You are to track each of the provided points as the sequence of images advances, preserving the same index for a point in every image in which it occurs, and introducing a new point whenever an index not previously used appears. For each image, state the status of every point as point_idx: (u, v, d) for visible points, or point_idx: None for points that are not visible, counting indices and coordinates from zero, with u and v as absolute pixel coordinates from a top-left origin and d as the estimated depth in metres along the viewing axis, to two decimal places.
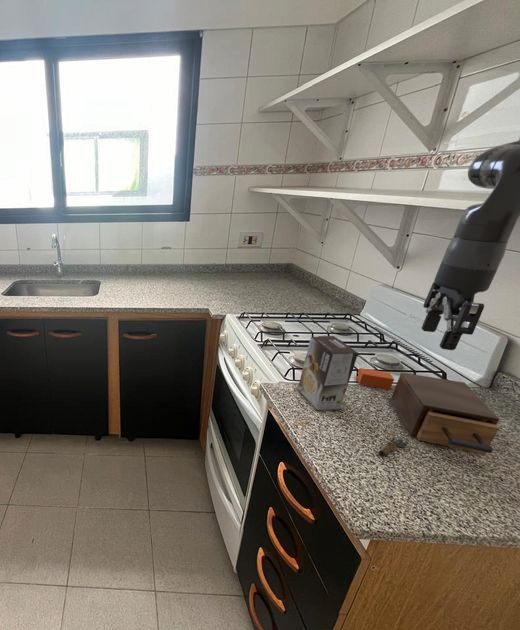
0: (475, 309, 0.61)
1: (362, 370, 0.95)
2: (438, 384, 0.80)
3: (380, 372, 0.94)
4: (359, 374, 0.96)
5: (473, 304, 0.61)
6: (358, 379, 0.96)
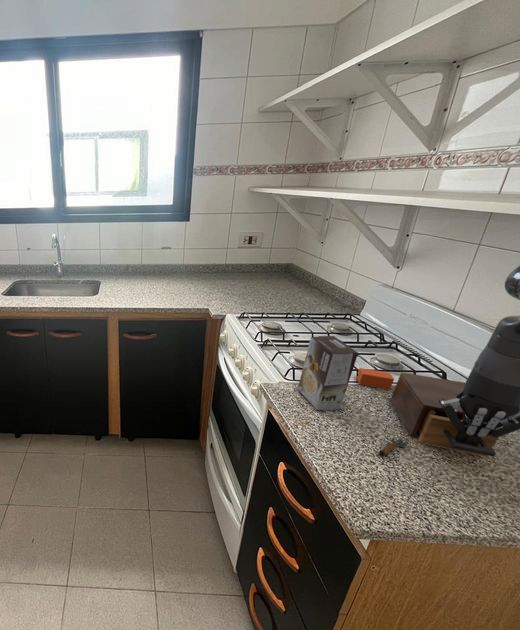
0: (443, 407, 0.67)
1: (362, 370, 0.95)
2: (438, 384, 0.80)
3: (380, 372, 0.94)
4: (359, 374, 0.96)
5: (441, 402, 0.68)
6: (358, 379, 0.96)
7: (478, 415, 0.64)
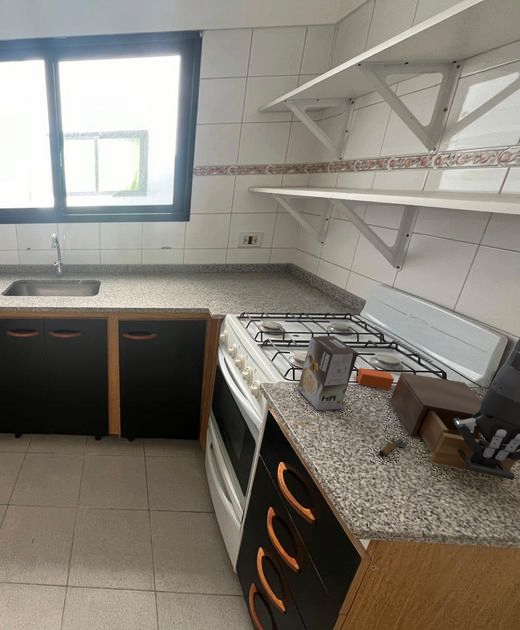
0: (457, 428, 0.63)
1: (362, 370, 0.95)
2: (438, 384, 0.80)
3: (380, 372, 0.94)
4: (359, 374, 0.96)
5: (455, 422, 0.63)
6: (358, 379, 0.96)
7: (496, 437, 0.59)
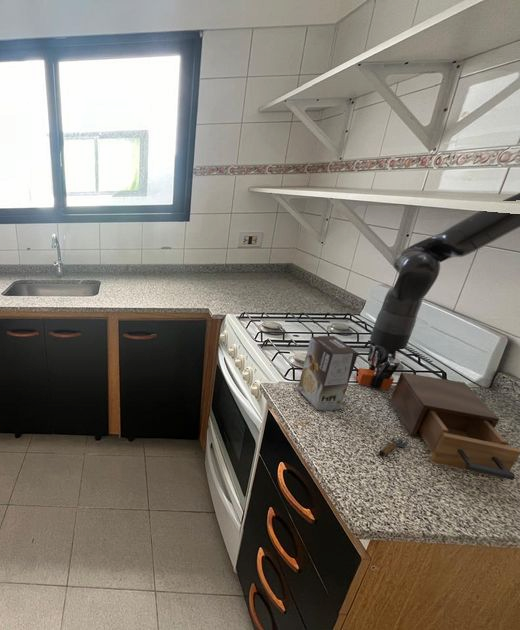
0: (391, 367, 0.86)
1: (362, 370, 0.95)
2: (438, 384, 0.80)
3: None
4: (359, 374, 0.96)
5: (390, 364, 0.86)
6: (358, 379, 0.96)
7: None
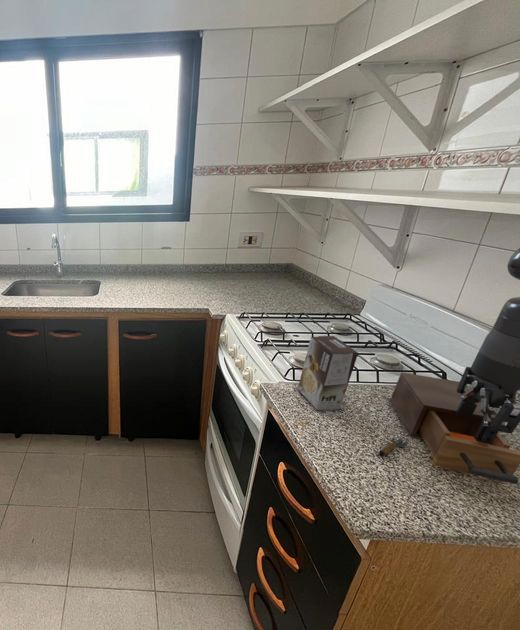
0: (517, 412, 0.58)
1: None
2: (438, 384, 0.80)
3: (472, 438, 0.69)
4: None
5: (515, 407, 0.58)
6: None
7: None
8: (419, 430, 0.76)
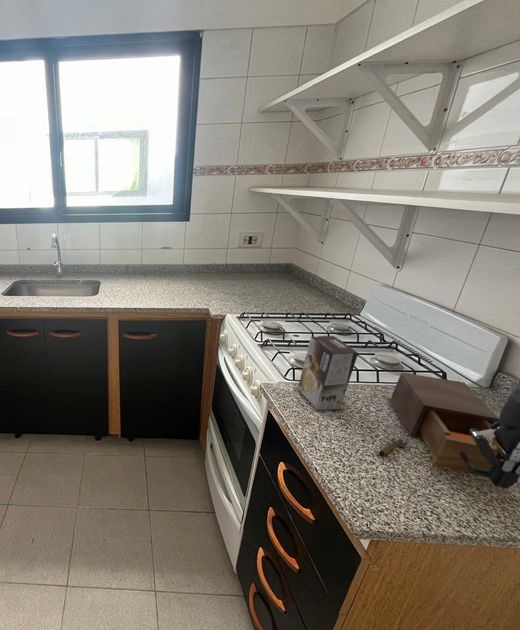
0: (474, 439, 0.58)
1: None
2: (438, 384, 0.80)
3: (472, 438, 0.69)
4: None
5: (472, 433, 0.59)
6: None
7: (517, 450, 0.55)
8: (419, 430, 0.76)
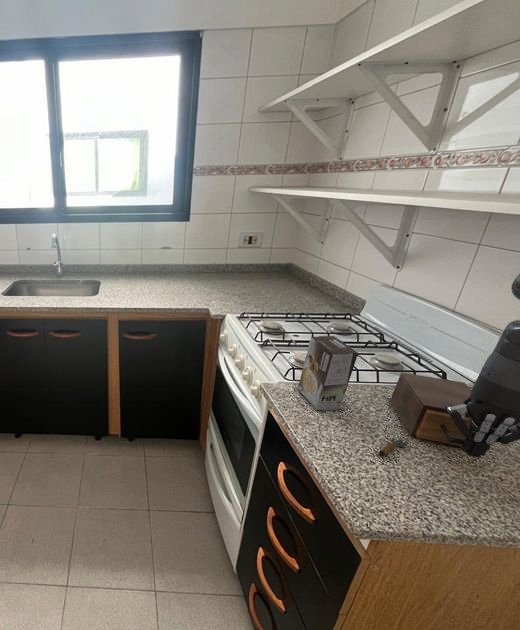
0: (449, 413, 0.66)
1: None
2: (438, 384, 0.80)
3: None
4: None
5: (447, 408, 0.66)
6: None
7: (486, 421, 0.63)
8: None
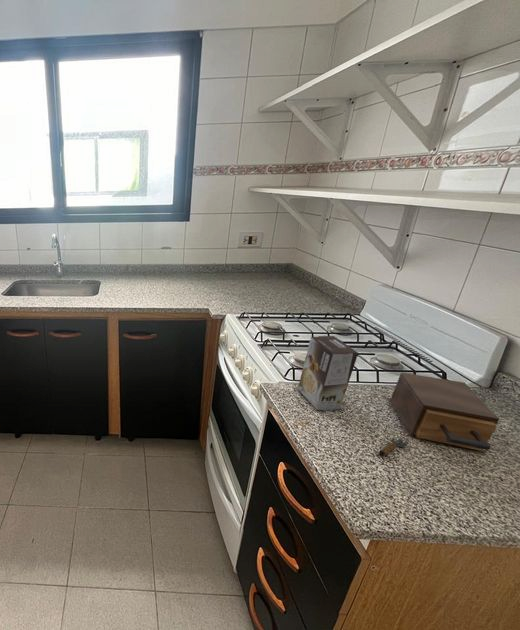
0: None
1: None
2: (438, 384, 0.80)
3: None
4: None
5: None
6: None
7: None
8: None
